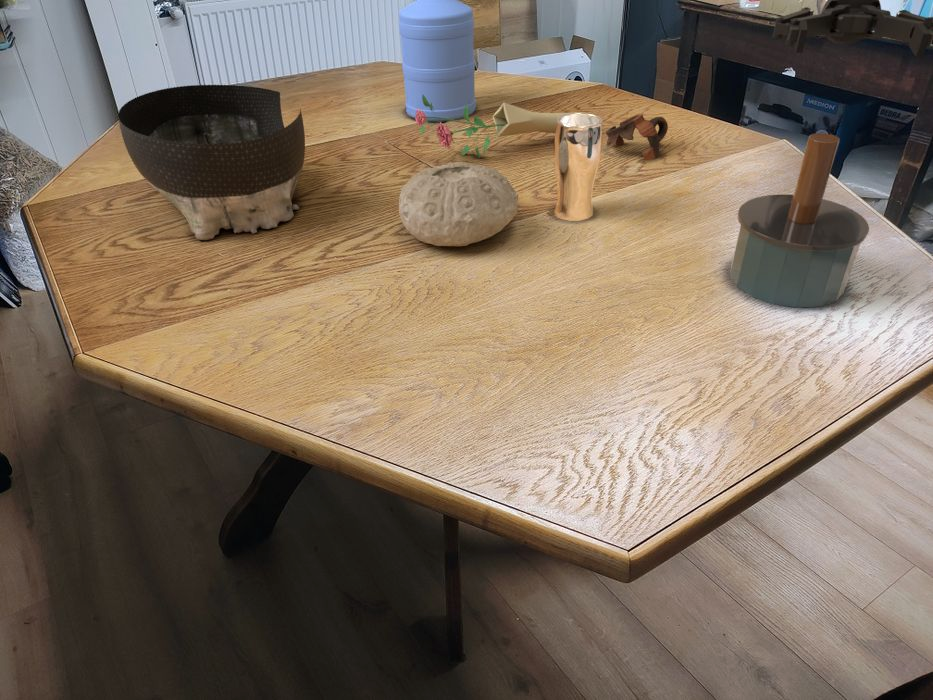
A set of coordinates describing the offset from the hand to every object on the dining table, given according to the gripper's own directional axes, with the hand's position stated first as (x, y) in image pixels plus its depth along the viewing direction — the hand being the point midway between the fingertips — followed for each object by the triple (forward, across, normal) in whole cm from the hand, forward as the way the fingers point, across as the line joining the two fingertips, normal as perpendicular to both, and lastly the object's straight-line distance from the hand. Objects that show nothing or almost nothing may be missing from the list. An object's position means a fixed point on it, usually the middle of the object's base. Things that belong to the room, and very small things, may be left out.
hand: (861, 43), depth 85 cm
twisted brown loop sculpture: (-26, +29, -26) cm, 47 cm away
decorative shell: (+14, +49, -26) cm, 57 cm away
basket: (+14, +91, -26) cm, 96 cm away
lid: (+16, +3, -18) cm, 24 cm away
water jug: (-41, +75, -26) cm, 89 cm away
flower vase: (-21, +53, -26) cm, 62 cm away
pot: (+16, +3, -26) cm, 31 cm away
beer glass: (+4, +34, -26) cm, 43 cm away
